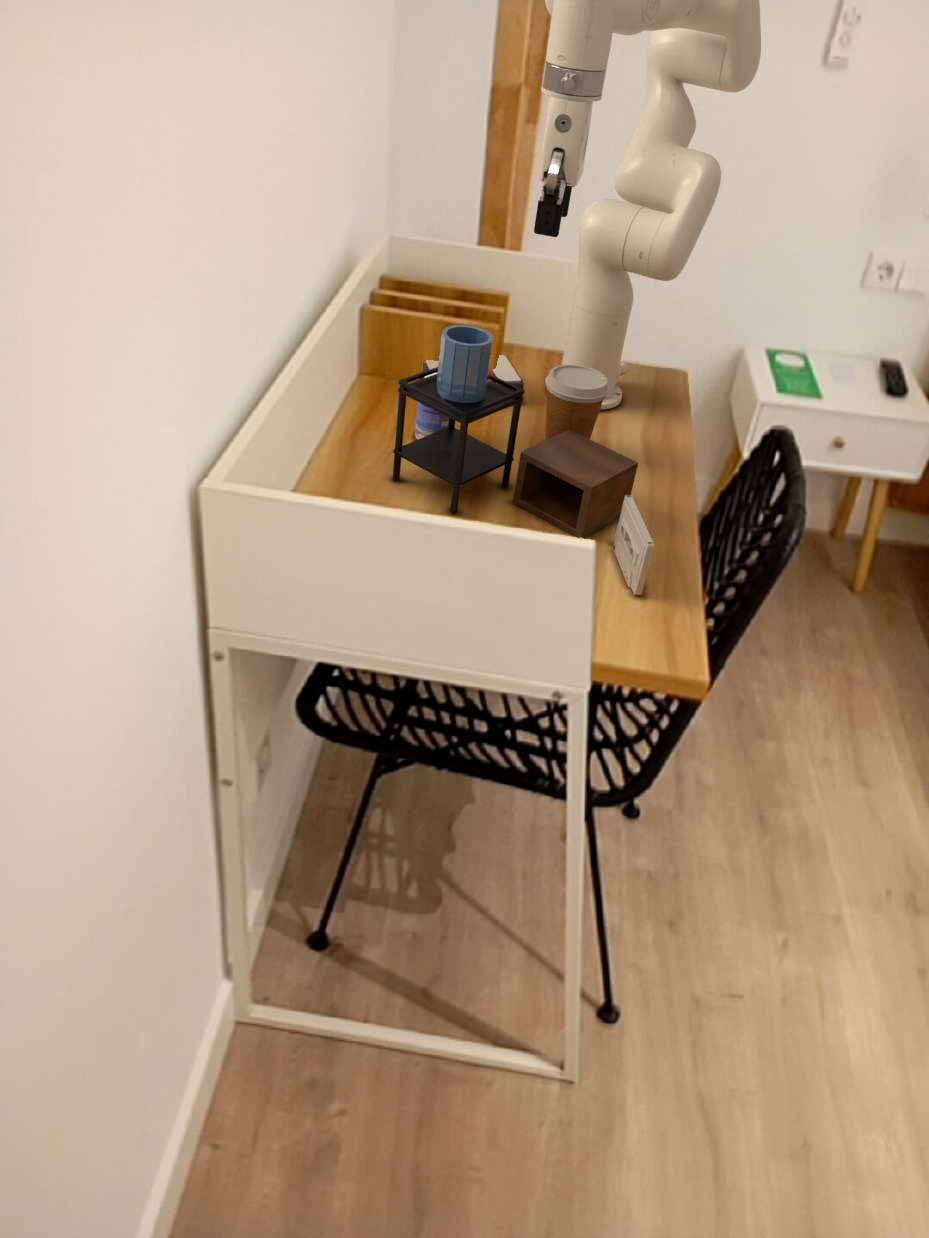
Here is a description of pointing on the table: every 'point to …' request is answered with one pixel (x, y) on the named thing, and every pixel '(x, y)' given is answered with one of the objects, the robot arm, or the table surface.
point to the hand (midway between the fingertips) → (550, 224)
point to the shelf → (574, 482)
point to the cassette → (633, 546)
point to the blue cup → (464, 363)
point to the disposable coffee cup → (574, 399)
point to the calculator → (501, 371)
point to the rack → (456, 434)
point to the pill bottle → (429, 420)
